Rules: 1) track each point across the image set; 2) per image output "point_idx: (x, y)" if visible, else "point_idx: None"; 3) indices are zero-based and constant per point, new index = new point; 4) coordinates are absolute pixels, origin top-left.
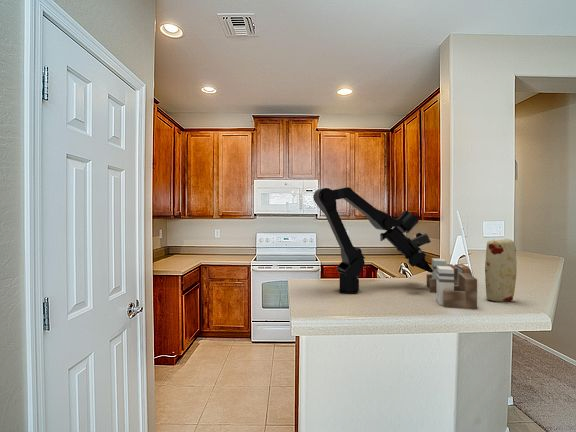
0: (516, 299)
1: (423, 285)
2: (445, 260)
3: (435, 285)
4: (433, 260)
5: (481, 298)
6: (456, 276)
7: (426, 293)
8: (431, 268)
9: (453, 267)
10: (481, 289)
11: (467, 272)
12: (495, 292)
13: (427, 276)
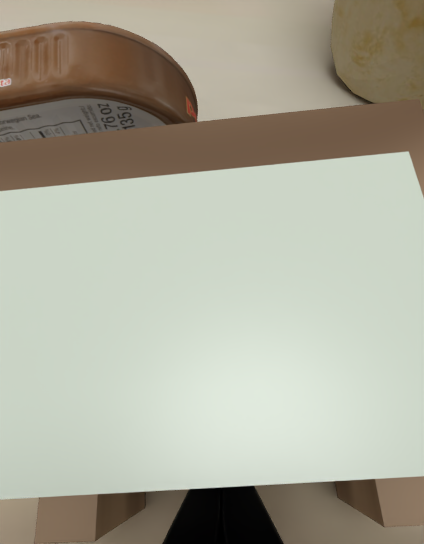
0: (305, 8)
1: (23, 539)
2: (305, 165)
3: None
4: (349, 479)
5: None
6: None
7: (394, 535)
8: (257, 501)
9: (300, 139)
10: None
11: (156, 73)
12: None
13: (103, 528)
